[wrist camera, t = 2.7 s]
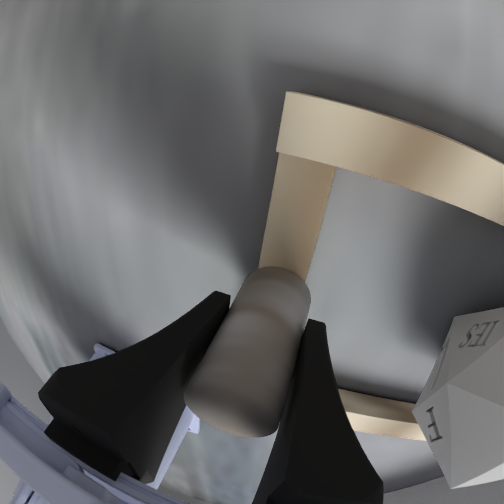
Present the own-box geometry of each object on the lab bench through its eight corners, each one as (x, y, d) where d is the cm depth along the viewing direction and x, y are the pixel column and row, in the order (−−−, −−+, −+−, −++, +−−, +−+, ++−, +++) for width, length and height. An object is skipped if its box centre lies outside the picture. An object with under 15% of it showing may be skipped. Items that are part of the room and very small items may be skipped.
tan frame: (231, 377, 19) (189, 468, 13) (279, 88, 10) (190, 93, 4) (487, 427, 15) (493, 504, 10) (623, 246, 7) (681, 322, 1)
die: (497, 223, 10) (397, 427, 7) (620, 308, 5) (564, 521, 2) (449, 316, 16) (362, 448, 13) (542, 376, 11) (473, 515, 8)
